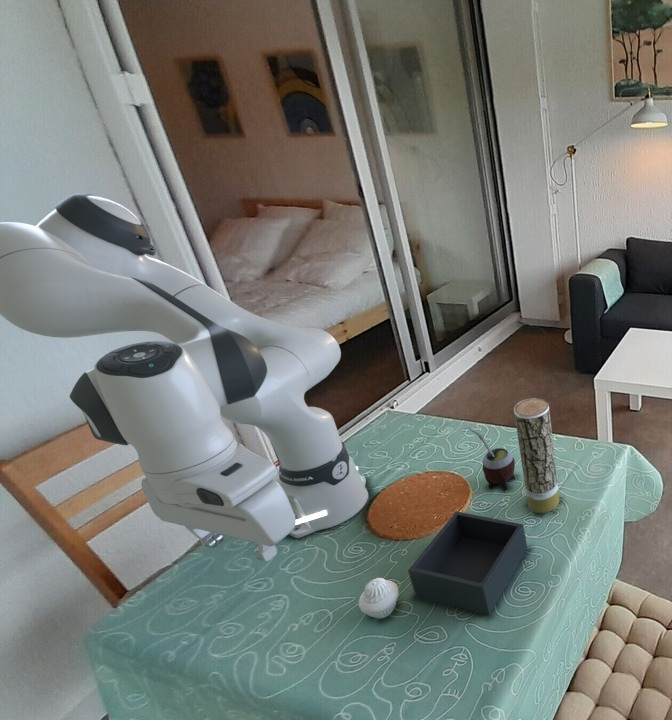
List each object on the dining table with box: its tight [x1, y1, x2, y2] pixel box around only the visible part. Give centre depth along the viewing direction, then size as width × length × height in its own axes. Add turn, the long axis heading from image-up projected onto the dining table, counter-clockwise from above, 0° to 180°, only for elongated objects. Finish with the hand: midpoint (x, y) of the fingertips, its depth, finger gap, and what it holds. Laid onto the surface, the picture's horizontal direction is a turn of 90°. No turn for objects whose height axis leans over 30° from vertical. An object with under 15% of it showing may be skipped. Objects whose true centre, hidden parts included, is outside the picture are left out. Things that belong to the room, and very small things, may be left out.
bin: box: [407, 510, 528, 616], centre depth 92 cm, size 15×15×7 cm
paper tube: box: [513, 397, 560, 514], centre depth 104 cm, size 7×7×25 cm
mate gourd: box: [467, 426, 516, 491], centre depth 113 cm, size 8×8×15 cm
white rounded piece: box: [358, 577, 399, 620], centre depth 85 cm, size 6×6×7 cm
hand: (240, 550), depth 68 cm, fingers open, 8 cm apart
